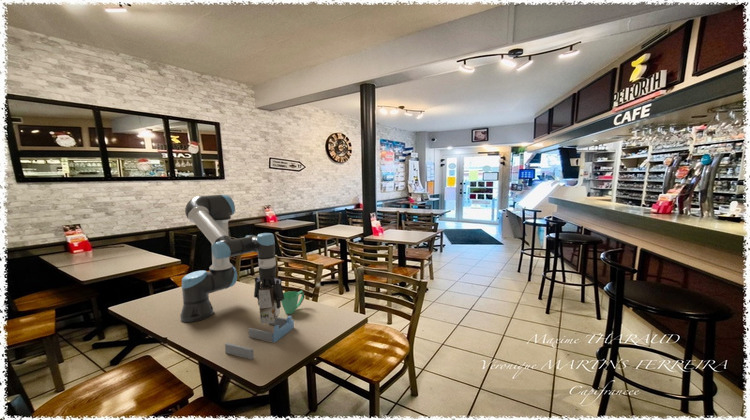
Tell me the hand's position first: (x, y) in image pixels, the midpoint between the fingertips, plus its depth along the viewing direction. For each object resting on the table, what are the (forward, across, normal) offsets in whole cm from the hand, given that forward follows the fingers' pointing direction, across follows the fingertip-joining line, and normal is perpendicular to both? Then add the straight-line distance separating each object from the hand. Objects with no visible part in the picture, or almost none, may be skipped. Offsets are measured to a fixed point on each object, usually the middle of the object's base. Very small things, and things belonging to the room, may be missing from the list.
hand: (269, 313), depth 135 cm
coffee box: (+3, 0, 0) cm, 3 cm away
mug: (+10, -4, +23) cm, 25 cm away
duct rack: (+9, 0, -6) cm, 11 cm away
